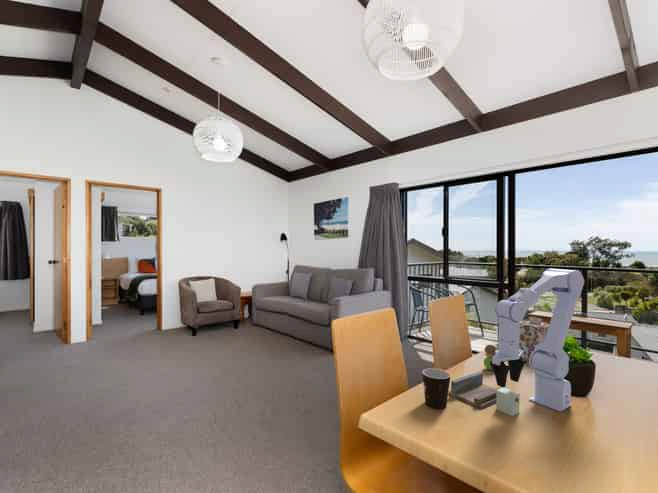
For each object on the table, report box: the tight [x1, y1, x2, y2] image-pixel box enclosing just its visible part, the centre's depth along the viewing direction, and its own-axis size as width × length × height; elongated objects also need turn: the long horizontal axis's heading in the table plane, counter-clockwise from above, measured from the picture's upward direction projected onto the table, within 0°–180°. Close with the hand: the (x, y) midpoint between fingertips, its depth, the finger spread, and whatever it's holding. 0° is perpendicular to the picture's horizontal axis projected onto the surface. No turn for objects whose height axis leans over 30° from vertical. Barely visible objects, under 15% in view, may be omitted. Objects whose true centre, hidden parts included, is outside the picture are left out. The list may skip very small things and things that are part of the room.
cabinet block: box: [495, 387, 520, 417], centre depth 105 cm, size 6×4×6 cm
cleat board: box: [448, 371, 503, 410], centre depth 116 cm, size 12×16×5 cm
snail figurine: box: [483, 343, 498, 371], centre depth 140 cm, size 5×6×12 cm
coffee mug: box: [421, 367, 452, 410], centre depth 107 cm, size 12×9×10 cm
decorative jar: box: [519, 317, 551, 361], centre depth 156 cm, size 12×12×18 cm
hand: (507, 383), depth 105 cm, fingers open, 7 cm apart
